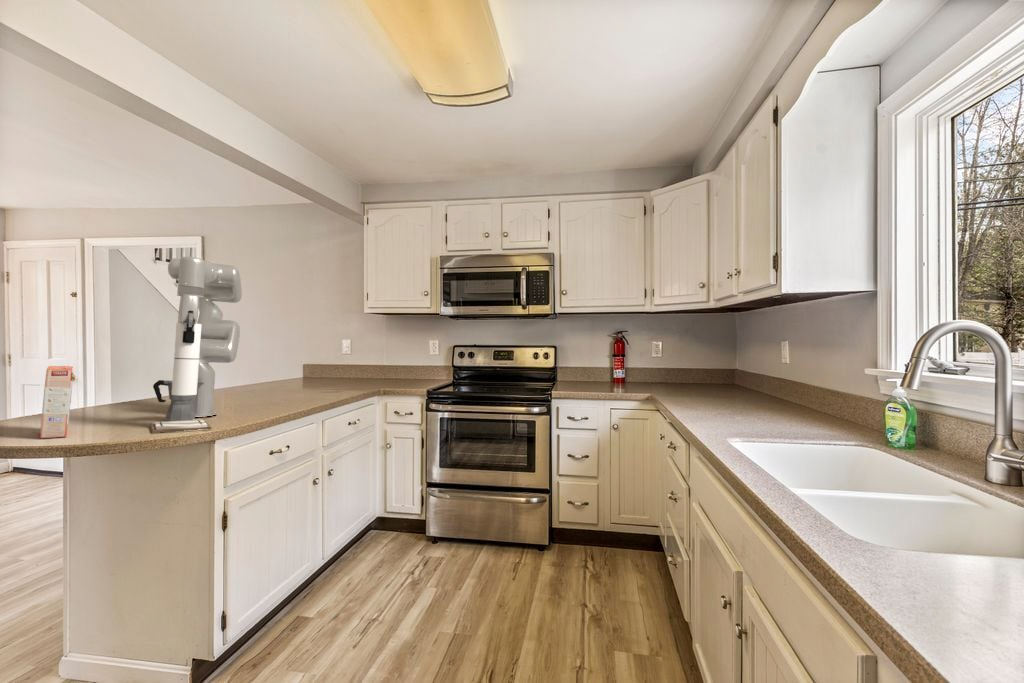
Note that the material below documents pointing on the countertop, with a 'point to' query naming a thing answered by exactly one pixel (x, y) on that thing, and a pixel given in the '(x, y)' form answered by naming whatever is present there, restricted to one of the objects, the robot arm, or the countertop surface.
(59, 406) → the cracker box
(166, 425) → the notepad
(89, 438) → the countertop surface
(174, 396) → the coffeepot
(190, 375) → the cylindrical container
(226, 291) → the robot arm
